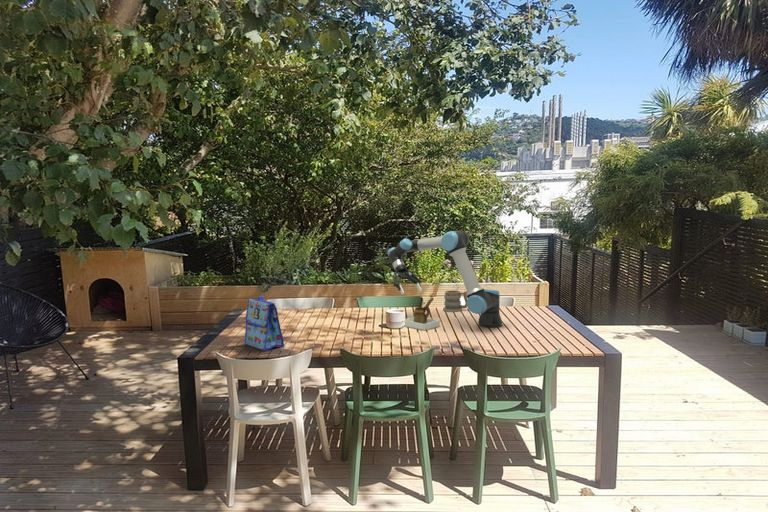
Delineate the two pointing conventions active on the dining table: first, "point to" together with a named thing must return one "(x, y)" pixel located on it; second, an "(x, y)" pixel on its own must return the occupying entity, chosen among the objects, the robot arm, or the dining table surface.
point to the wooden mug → (422, 313)
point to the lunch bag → (262, 325)
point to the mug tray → (429, 325)
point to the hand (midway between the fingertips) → (412, 292)
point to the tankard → (454, 301)
